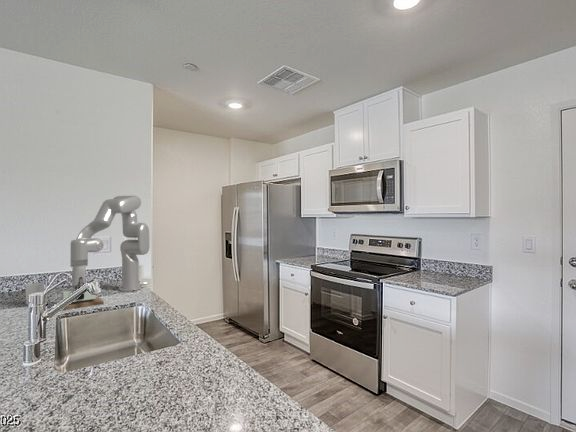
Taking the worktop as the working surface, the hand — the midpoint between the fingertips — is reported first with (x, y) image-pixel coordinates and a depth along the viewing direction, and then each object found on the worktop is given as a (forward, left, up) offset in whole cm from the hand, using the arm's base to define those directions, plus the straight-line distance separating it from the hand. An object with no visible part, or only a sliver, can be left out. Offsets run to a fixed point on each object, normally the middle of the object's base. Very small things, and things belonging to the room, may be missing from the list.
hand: (79, 297), depth 164 cm
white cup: (+17, -21, -4) cm, 28 cm away
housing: (0, 0, -1) cm, 1 cm away
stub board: (0, 0, -4) cm, 4 cm away
